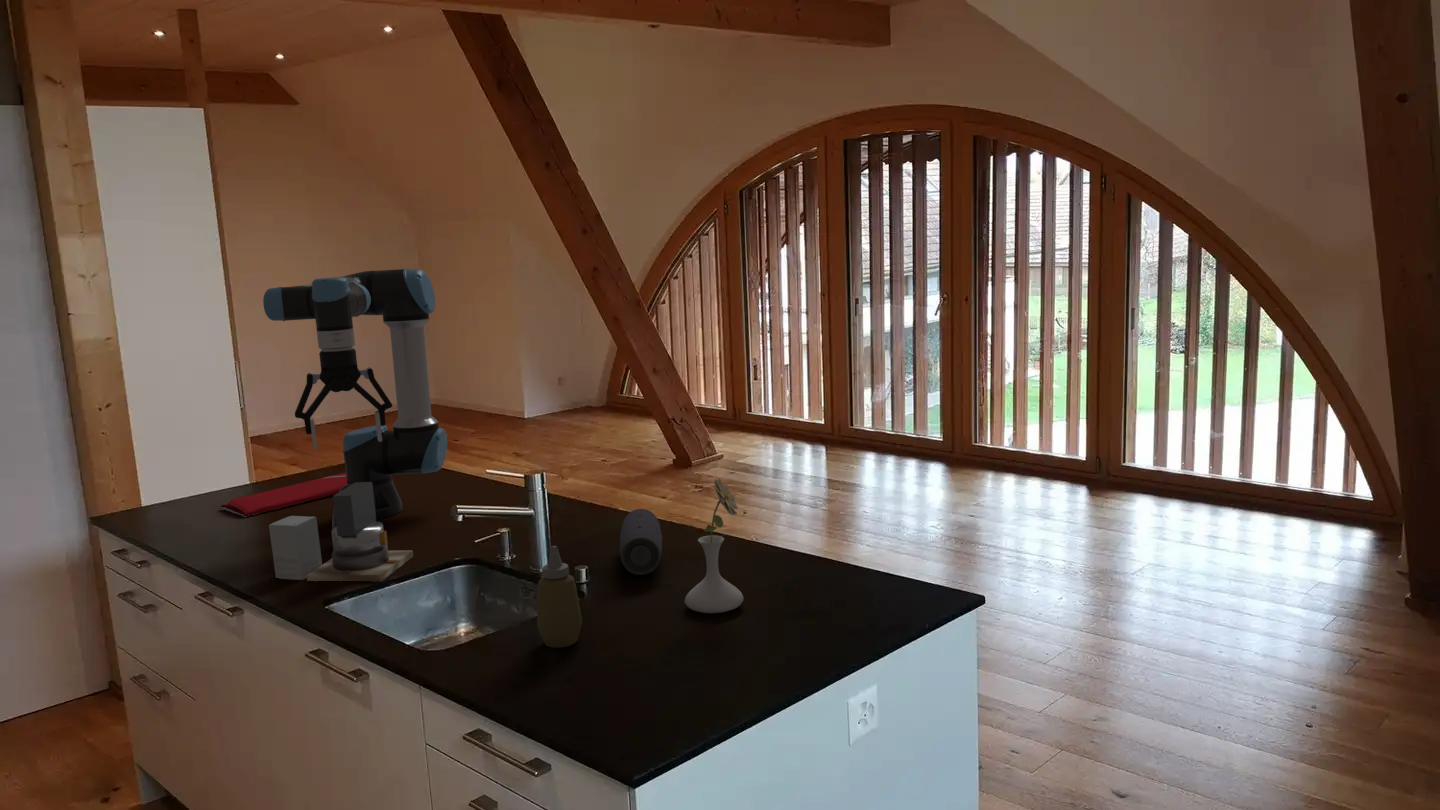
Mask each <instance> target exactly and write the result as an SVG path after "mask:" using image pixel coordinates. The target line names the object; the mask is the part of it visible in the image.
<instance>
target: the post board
mask: <svg viewBox="0 0 1440 810" xmlns="http://www.w3.org/2000/svg"><path fill="white" fill-rule="evenodd" d="M412 558H414V551H413V550H409V549H407V550H396V549H395V550H389V548H388V543H387V544H386V545H385V548H384V549H382V550H380V551H378V552H376V553H373V554H369V555H364V556H357V557H341V556H337V555H335V554H334V550H332V552H331V558H330V559H329V560H328V561H326V562H325V563H322V565H321V566H320V567H318V568H317V569H315V570H314V571H312V572H311V573H309V574H308V575H307V578H306V580H307V582H308V581H315V582H316V581H340V583H341V581H371V583H372V582H373V583H374V582H375V583H376V582H378V583H379V582H383V581H384V580H385V579H386V578H387V577H389V576H390V575H391V574H393V573H394V572H395V571H397V569H399V568H401V567H402V566H403V565H405V562H406V563H407V562H408V561H410V560H411V559H412ZM315 582H314V583H315Z"/></svg>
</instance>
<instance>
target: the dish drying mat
mask: <svg viewBox="0 0 1440 810" xmlns="http://www.w3.org/2000/svg"><path fill="white" fill-rule="evenodd" d="M345 485H347V478H346V471H345V472H341V473H336V474H333V475H328V476H326V477H321V478H317V479H315V478H314V479H312V480H306V481H302V482H299V483H294V484H291V485H288V486H282V487H279V488H277V487H276V488H275V489H270V490H265V491H261V492H258V493H253V494H249V495H244V496H240V497H237V498H233V499H231V500H230V501H228V503H225V504H221V505H220V508H221V507H226V508H228V509H231V510H233V511H235V512H238V513H240V514H243V515H244V516H248V515H252V514H256V513H261V512H265V511H269V510H273V509H277V508H281V507H285V506H289V505H294V504H298V503H302V502H306V501H310V500H314V499H318V500H320V499H319V498H321V499H324V498H323V497H325V498H328V497H332V496H334V495H336V494H337V493H339V491H340V489H341V488H342V487H343V486H345ZM331 495H332V496H331ZM327 496H328V497H327ZM314 501H315V500H314Z"/></svg>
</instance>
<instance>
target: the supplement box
mask: <svg viewBox="0 0 1440 810" xmlns="http://www.w3.org/2000/svg"><path fill="white" fill-rule="evenodd" d="M268 529H269V536H270V544H271V551H272V558H273V567H274V573H275V579H276V578H279V580H294V581H303V580H305V579H306V580H307V575H308V574H309V573H311V572H312V571H314V570H315V569H317V568H318V567H320V566H321V565H323V561H322V560H323V559H322V553H321V544H320V538H319V537H320V536H319V529H318V521H317V517H316V516H305V515H304V516H303V515H289V516H286V517H284V518H282V519H279V520H277V521H274V522H272V523H270V524H269V525H268Z"/></svg>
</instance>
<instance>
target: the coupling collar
mask: <svg viewBox="0 0 1440 810" xmlns="http://www.w3.org/2000/svg"><path fill="white" fill-rule="evenodd" d="M332 500H333V511H334V510H335V518H336V527H335V528H334V529H331V539H332V549H333V551H334V554H335V555H337V556H341V557H357V556H364V555H369V554H373V553H376V552H378V551H380V550H382V549H384V548H385V545H386V544H387V545H388V534H387V530H384V524H383V522H381V521H377V519H376V513H375V504H374V494H373V485H372V482H355V483H353V484H352V485H350V486H349V487H347V488H345V489H344V490H342V491H340V492H339V493H337V494H335V495H332Z"/></svg>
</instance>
